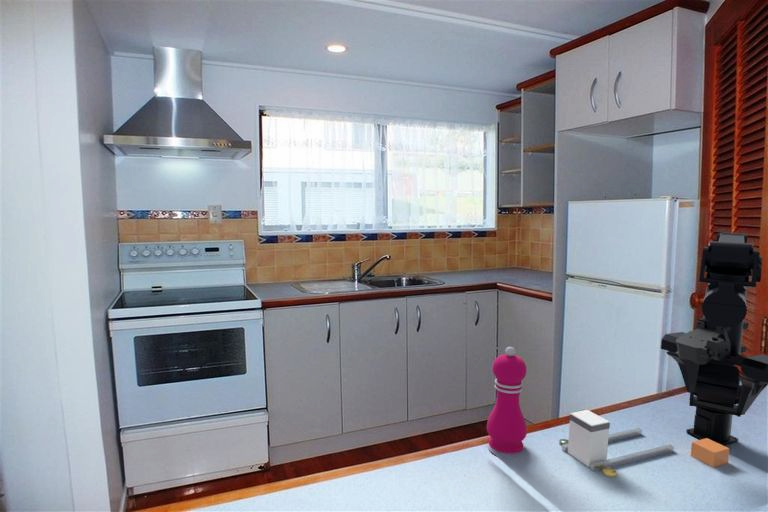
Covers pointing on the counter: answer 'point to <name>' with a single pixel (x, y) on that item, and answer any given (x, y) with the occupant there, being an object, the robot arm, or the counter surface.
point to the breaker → (588, 437)
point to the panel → (626, 458)
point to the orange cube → (710, 452)
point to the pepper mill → (507, 404)
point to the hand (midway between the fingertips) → (714, 402)
